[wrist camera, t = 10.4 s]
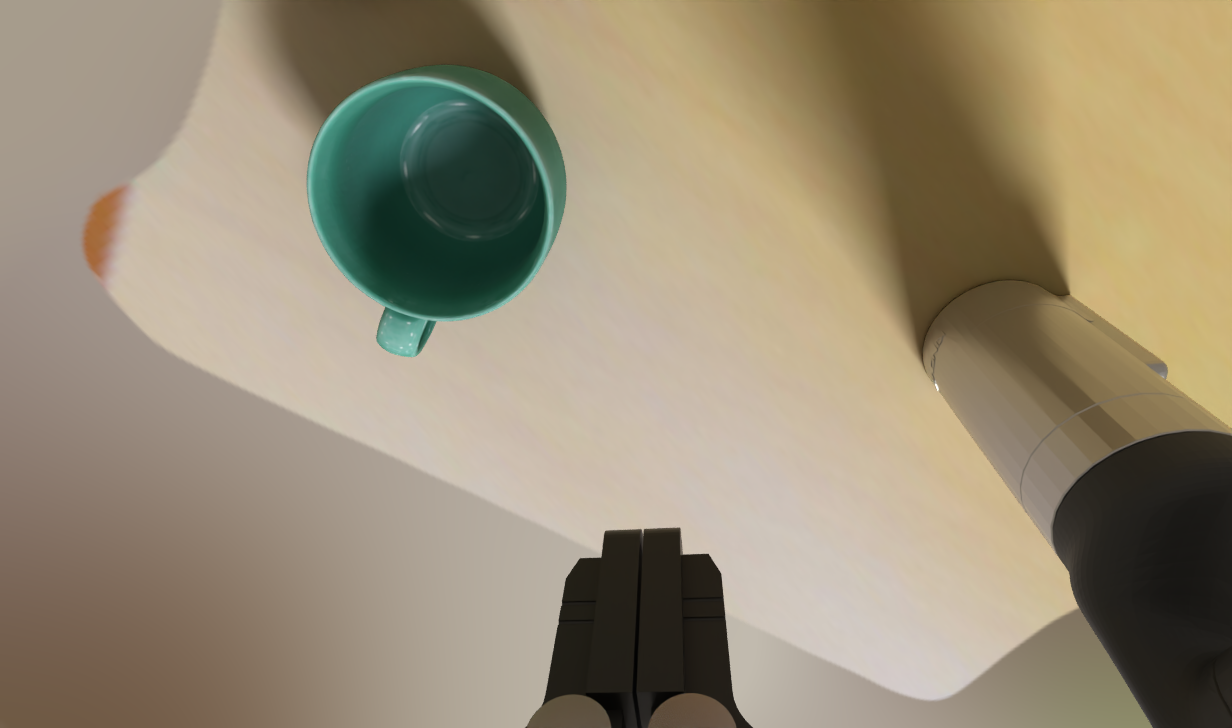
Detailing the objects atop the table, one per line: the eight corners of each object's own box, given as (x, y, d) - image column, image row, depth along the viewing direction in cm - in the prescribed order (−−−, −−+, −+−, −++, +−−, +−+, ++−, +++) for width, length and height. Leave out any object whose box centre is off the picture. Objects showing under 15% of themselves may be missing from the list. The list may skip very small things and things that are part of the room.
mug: (414, 13, 38) (347, 17, 29) (610, 125, 40) (598, 158, 32) (331, 256, 45) (258, 315, 37) (501, 339, 47) (468, 411, 39)
